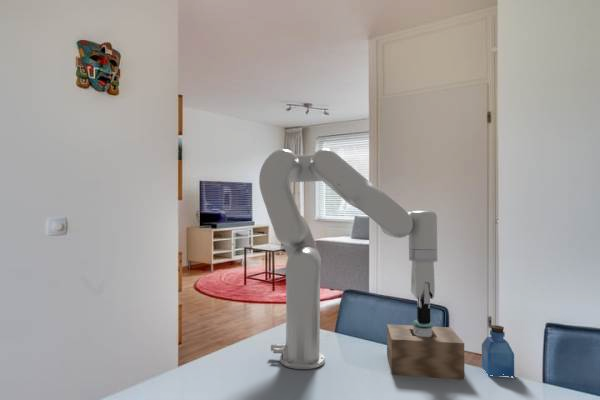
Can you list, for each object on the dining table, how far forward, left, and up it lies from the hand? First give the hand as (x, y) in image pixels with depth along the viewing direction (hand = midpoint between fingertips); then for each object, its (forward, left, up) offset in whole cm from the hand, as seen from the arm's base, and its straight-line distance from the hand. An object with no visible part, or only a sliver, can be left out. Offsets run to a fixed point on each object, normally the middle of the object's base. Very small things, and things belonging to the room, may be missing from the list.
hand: (423, 322), depth 106 cm
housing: (0, 0, -12) cm, 12 cm away
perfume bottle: (+19, -1, -12) cm, 22 cm away
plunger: (0, 0, -9) cm, 9 cm away
